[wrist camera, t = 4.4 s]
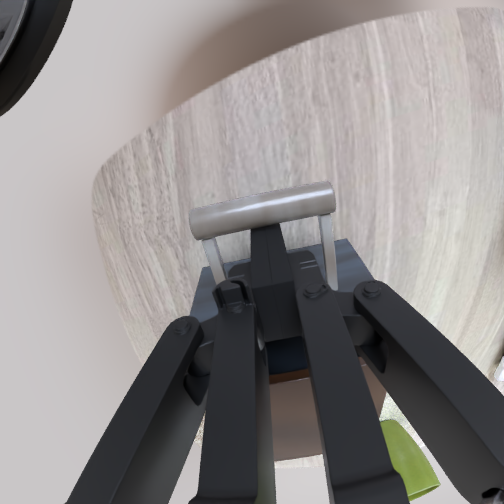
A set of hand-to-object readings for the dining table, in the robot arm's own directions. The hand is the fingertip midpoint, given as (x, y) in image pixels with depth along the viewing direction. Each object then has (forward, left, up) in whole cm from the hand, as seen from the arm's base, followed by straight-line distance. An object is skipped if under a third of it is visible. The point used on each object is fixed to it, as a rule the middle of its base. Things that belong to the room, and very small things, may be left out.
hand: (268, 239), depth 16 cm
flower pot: (+43, +12, -6) cm, 45 cm away
